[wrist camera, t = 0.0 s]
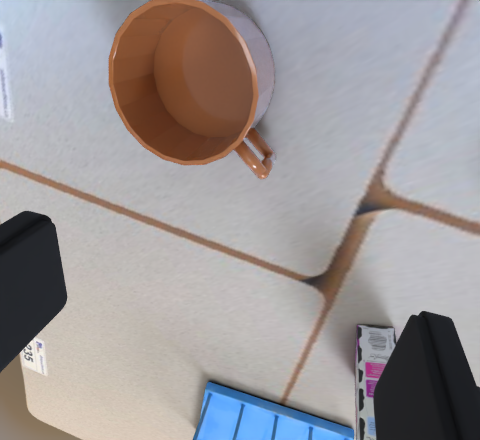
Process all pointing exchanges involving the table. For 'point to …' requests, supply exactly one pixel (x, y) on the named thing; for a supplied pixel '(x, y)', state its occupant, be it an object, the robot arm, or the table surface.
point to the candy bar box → (370, 373)
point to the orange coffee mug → (193, 82)
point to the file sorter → (259, 419)
